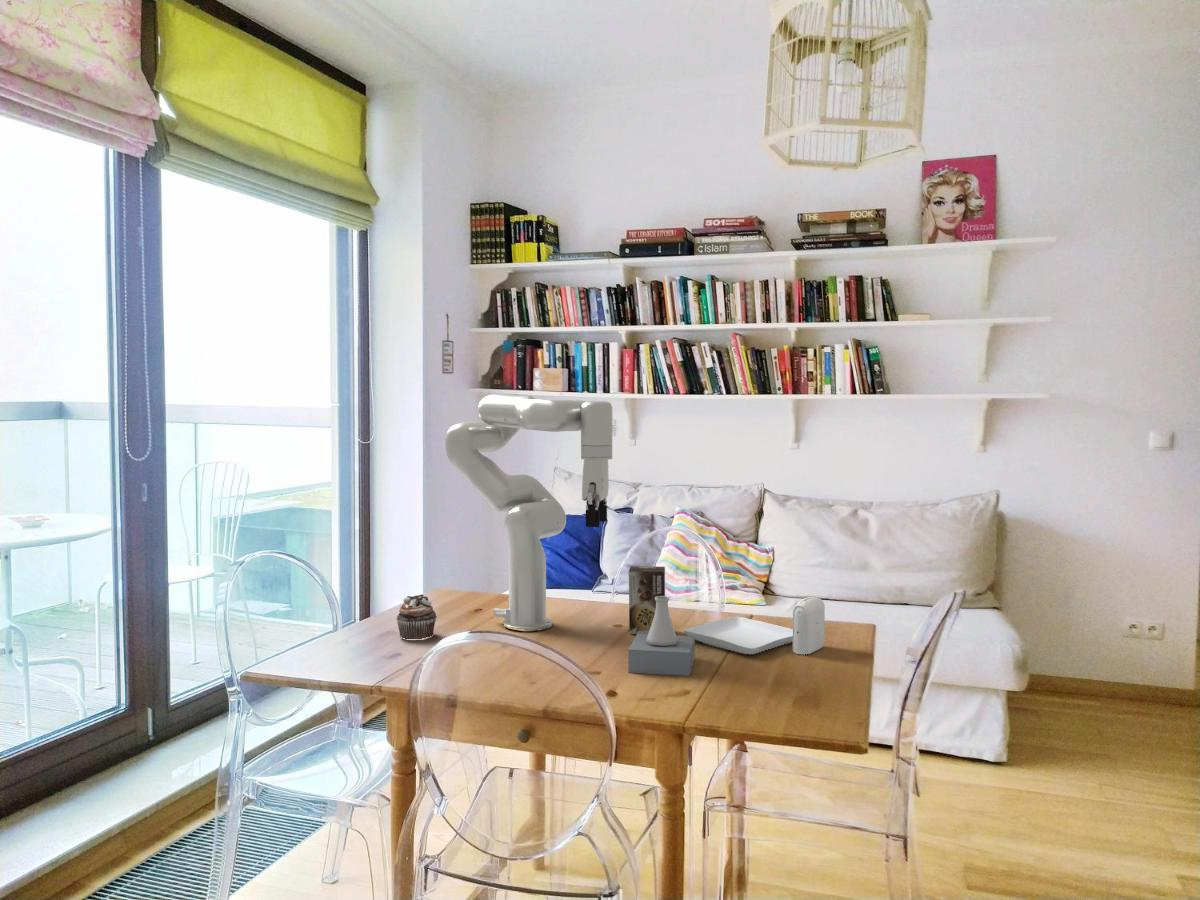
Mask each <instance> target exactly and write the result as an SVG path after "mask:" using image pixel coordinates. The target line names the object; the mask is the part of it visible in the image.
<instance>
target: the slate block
mask: <svg viewBox="0 0 1200 900" xmlns="http://www.w3.org/2000/svg"><path fill="white" fill-rule="evenodd" d="M647 636H648V634H637V635H636V636H634V639H633V641H632V642H631V644H630V646H629V647H628V662H627V663H628V665H627V666H628V673H633V674H648V675H665V676H683V677H684V676H685V677H690V675H691V671H692V668H693V665H694V662H693V661H695V645H696V644H695V642H696V641H695V636H688V635H676V636H677V639H678V642H677V644H675V645H668V646H659V645H651V644H649V643H647V642H646V639H647Z"/></svg>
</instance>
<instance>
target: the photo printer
mask: <svg viewBox="0 0 1200 900" xmlns="http://www.w3.org/2000/svg"><path fill="white" fill-rule="evenodd" d="M825 610H826V607H825V602H824V601H823V600H822V599H821V598H820V597H816V596H809V597H808V596H807V597H805V598H803V599H801V600H800V601H798V602H797V603H796V604H795V606H794V608H793V610H792V629H793V642H792V652H793V653H794V652H795V653H797V654H806V655H805V656H808V655H810V654H812V653H815V652H817V651H819V650H820V649H822V648H823V647H824V646H825V625H826V624H825V619H826V618H825V617H826V616H825V615H826V614H825ZM795 653H794V654H795ZM797 654H796V655H797ZM807 654H808V655H807Z"/></svg>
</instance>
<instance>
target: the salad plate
mask: <svg viewBox="0 0 1200 900" xmlns="http://www.w3.org/2000/svg"><path fill="white" fill-rule="evenodd" d="M682 631H683V632H684V634H685V635H686V636H695V640H696V641H697V642H701V643H702V642H703V644H704V643H706V644H705V645H707V644H709V645H708V646H711V645H713V646H712V647H714V646H716V647H715V648H718V647H720V648H719V649H722V648H724V649H723V650H726V649H727V651H729V650H731V651H730V652H733V651H735V652H734V653H737V652H739V653H738V654H741V653H743V654H742V655H747V654H748V655H749V656H751V655H756V653H757V654H760V653H763V652H766V651H765V650H767V651H769V650H768V649H770V650H773V649H775V647H776V648H779V647H781V645H782V646H784V644H785V645H787V644H788V645H789V644H790V643H793V628H789V627H786V626H781V625H779V624H778V625H777V624H773V623H769V622H765V621H760V620H756V619H751V618H747V617H744V616H743V617H742V616H736V615H735V616H732V617H727V618H723V619H719V620H718V619H717V620H713V621H709V622H705V623H701V624H699V625H694V626H690V627H687V628H683V630H682ZM778 646H779V647H778ZM772 648H773V649H772ZM762 651H763V652H762ZM759 652H760V653H759ZM748 655H747V656H748Z"/></svg>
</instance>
